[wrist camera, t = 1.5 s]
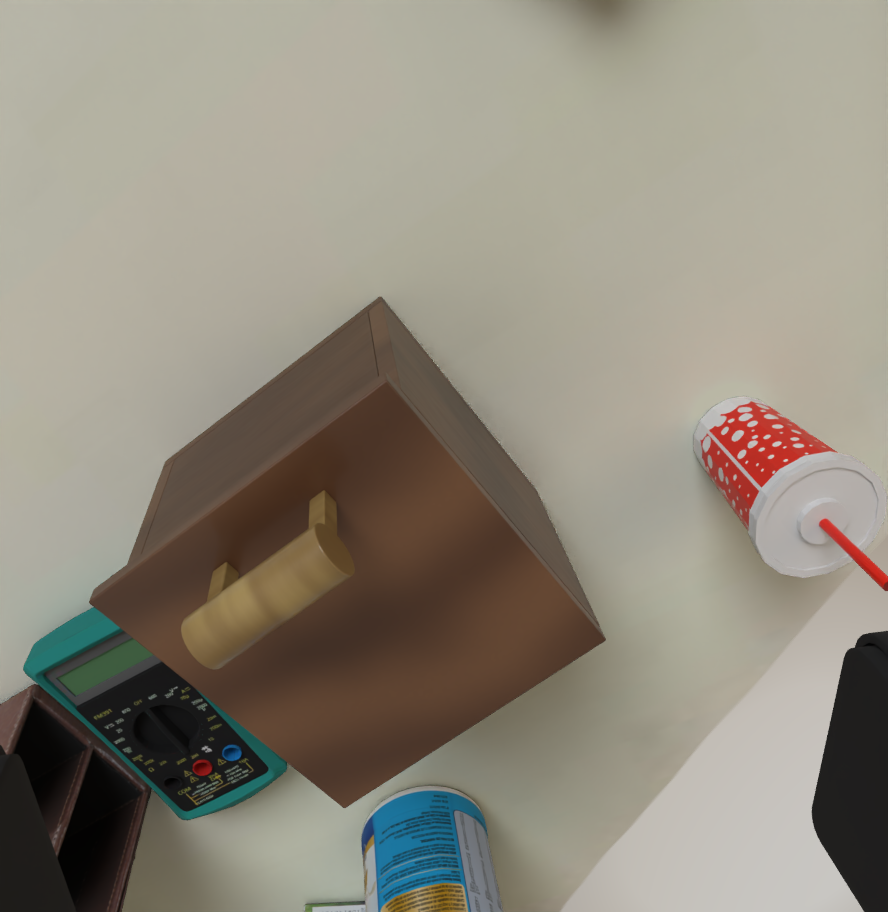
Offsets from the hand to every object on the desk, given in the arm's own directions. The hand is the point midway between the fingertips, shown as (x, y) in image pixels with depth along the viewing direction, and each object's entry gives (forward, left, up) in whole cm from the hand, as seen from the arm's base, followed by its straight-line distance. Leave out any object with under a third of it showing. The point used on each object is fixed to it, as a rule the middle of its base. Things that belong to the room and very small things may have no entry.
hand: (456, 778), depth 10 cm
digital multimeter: (+25, +14, -32) cm, 43 cm away
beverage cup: (-9, +21, -32) cm, 39 cm away
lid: (+8, +10, -20) cm, 24 cm away
